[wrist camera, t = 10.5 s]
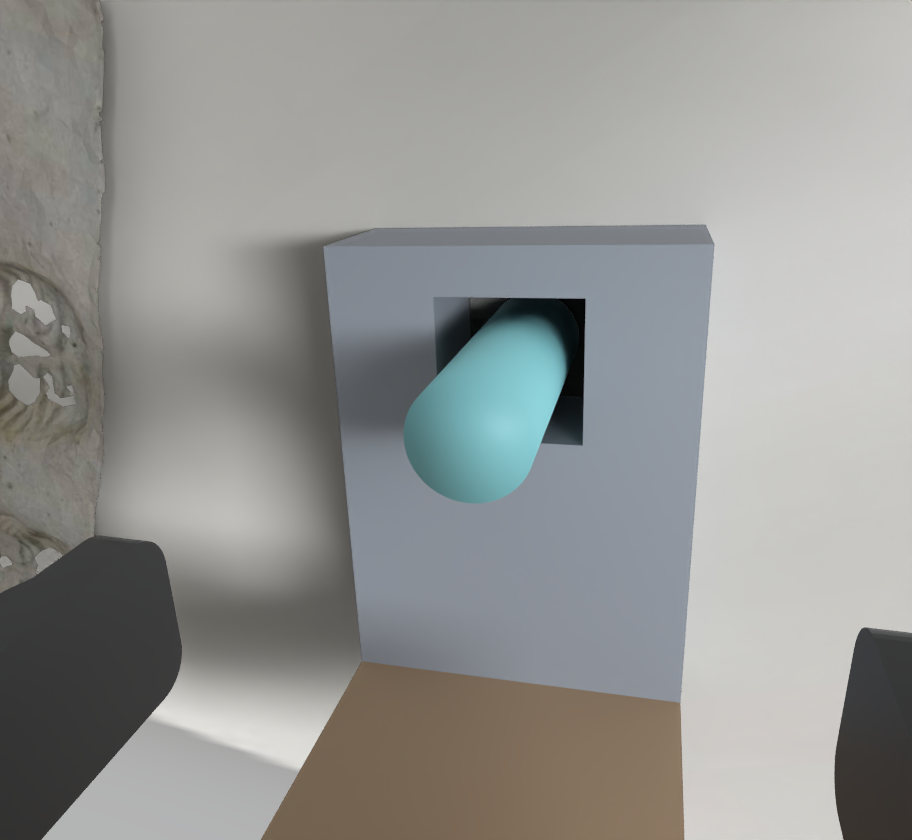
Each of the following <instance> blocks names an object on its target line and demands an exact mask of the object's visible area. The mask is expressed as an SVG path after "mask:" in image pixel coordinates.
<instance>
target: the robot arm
mask: <svg viewBox="0 0 912 840" xmlns="http://www.w3.org/2000/svg"><path fill="white" fill-rule="evenodd" d="M181 656H182V646H181V639H180V634H179V629H178V624H177V618H176V613H175V608H174V603H173V598H172V592H171V587H170V582H169V577H168V571H167V566H166V561H165V557H164V555H163V552H162V550H161V549H160V548H159V547H158V546H157V545H156V544H155V543H153V542H148V541H140V540H132V539H123V538H115V537H106V536H93V537H90V538H88V539H86V540H85V541H83V542H82V543H80V544H79V545H78V546H76V547H75V548H74V549H72V550H71V551H69V552H68V553H67V554H65V555H64V556H62V557H61V558H60V559H58V560H57V561H56V562H54V563H53V564H51V565H50V566H49V567H47V568H46V569H44V570H43V571H42V572H40V573H39V574H38V575H36V576H35V577H33V578H31V579H29V580H27V581H25V582H22V583H20V584H18V585H16V586H14V587H11V588H9V589H7V590H5V591H3V592H2V593H1V594H0V840H41V839H42V838H43V837H44V836H45V835H46V833H47V832H48V831H49V830H50V829H51V828H52V827H53V825H54V824H55V823H56V822H57V821H58V820H59V818H60V817H61V816H62V815H63V814H64V813H65V812H66V811H67V809H68V808H69V807H70V806H71V805H72V804H73V803H74V801H75V800H76V799H77V798H78V797H79V796H80V795H81V794H82V792H83V791H84V790H85V789H86V788H87V787H88V785H89V784H90V783H91V782H92V781H93V780H94V779H95V778H96V776H97V775H98V774H99V773H100V772H101V771H102V770H103V768H104V767H105V766H106V765H107V764H108V763H109V762H110V760H111V759H112V758H113V757H114V756H115V754H117V752H118V751H119V750H120V749H121V748H122V747H123V745H124V744H125V743H126V742H127V741H128V740H129V739H130V738H131V736H132V735H133V734H134V733H135V732H136V731H137V730H138V728H139V727H140V726H141V725H142V724H143V723H144V722H145V720H146V719H147V718H148V717H149V716H150V715H151V714H152V712H153V711H154V710H155V709H156V708H157V707H158V706H159V704H160V703H161V702H162V701H163V700H164V699H165V697H166V696H167V695H168V694H169V692H170V690H171V689H172V687H173V685H174V683H175V681H176V678H177V675H178V672H179V669H180V664H181ZM835 796H836V805H837V812H838V817H839V821H840V826H841V830H842V835H843V839H844V840H912V633H907V632H899V631H890V630H882V629H873V628H863V629H861V631H860V632H859V634H858V636H857V640H856V643H855V647H854V653H853V658H852V664H851V669H850V675H849V680H848V686H847V691H846V697H845V702H844V708H843V713H842V719H841V724H840V730H839V735H838V741H837V747H836V755H835Z"/></svg>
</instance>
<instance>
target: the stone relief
mask: <svg viewBox="0 0 912 840" xmlns="http://www.w3.org/2000/svg"><path fill="white" fill-rule="evenodd" d="M101 21H103V14H102V12H101V8H100V0H0V557H1V556H7V557H8V558H9V559H10V560H11V562H12V563H13V564H12V565H11V566H7V567H5V568H2V566H1V565H0V594H1V593H2V592H3V591H5V590H7V589H9V588H11V587H14V586H16V585H18V584H20V583H22V582H25V581H27V580H29V579H31V578H33V577H35V576H36V575H37V574H36V569H37V566H38V565H37V563H36V561H35V558H34V557H35V556H36V555H37V554H38V553H39V552H41V551H42V550H45V549H47V548H49V547H51V548H53V549H55V550H57V551H58V552H60V553H61V554H62V556H64V555H65V554H67V553H68V552H69V551H71V550H72V549H74V548H75V547H76V546H78V545H79V544H80V543H82V542H83V541H85V540H86V539H88V538H90V537H93V536H94V532H93V530H95V528H94V526H96V524H95V517H94V514H95V510H94V509H95V505H97V502H96V499H97V497H98V491H99V480H100V475H101V473H100V471H101V466H102V463H103V459H102V456H103V455H104V450H103V444H104V439H103V434H102V432H103V431H102V429H103V423H102V415H103V414H104V394H105V393H104V388H103V377H102V362H103V352H102V350H103V348H104V346H103V340H102V338H101V329H100V327H99V322H98V319H99V313H98V291H97V290H96V289H97V288H98V285H99V271H100V264H101V261H100V260H99V259H98V256H100V257H101V247H100V246H99V245H98V244H97V242H99V238H100V224H101V204H102V202H101V201H100V199H101V198H102V193H105V165H104V164H103V163H102V162H101V160H102V159H104V158H103V152H102V146H103V145H102V142H101V128H100V126H99V121H102V118H101V117H100V116H99V112H100V111H103V110H102V101H103V80H104V50H103V48H102V41H103V26H102V25H101ZM18 279H19V280H22V281H25V282H27V283H30V284H31V286H32V288H33V290H34V292H35V293H36V297H37V300H38V301H40V300H42V301H44V302H46V303H48V304H50V305H51V307H52V309H53V312H54V315H55V318H56V320H55V321H53V322H51V323H49V324H47V325H45V324H43V323H42V322H41V321H40V320H39V319H37V318H36V317H35V313H34V310H33V309H31V308H30V307H28V306H26V312H24V313H23V314H19V313H18V312H16V311H15V310H13V309H12V300H11V289H12V285H13V284H14V283H15V282H16V281H17V280H18ZM61 325H65V326H70V329H71V334H70V338H69V339H68V338H67V337H66V336H65V334H64V333H63V332H62V327H61ZM15 331H17V332H19V333H21V334H23V335H24V336H26V337H27V338H29V339H30V340H31V341H32V342H33V343H35V344H37V345H38V346H40V347H42V348H43V349H45V350H46V351H48V352H49V354H50V356H49V357H40V356H26V357H20V358H18V356H16V355H15V354H13V353H12V352H11V349H10V346H9V339H10V338H11V336H12V335H13V334H14V332H15ZM17 364H20V365H21V366H23V367H24V368H25V369H26V370H27V371H28V372H29V373H30V374H31V375H32V376H33V377H35V378H40V394H39V396H38V398H37V399H36V401H35V402H34V403H33V404H31V405H28V406H27V405H26V404H24V403H22V402H21V401H19V400H17V399H16V398H15V397H14V395H13V394H12V393H11V392H10V391H9V386H8V379H9V378H10V376H11V374H12V372H13V367H14V365H17ZM47 373H49V374H50V375H51V376H52V378H53V385H54V391H55V393H56V394H57V395H58V396H59V397H60V398H63V397H70V396H74V398H75V400H76V404H75V405H70V406H64V407H63V406H61V405H59V404H57V403H54V402H52V401H50V400H49V399H48V398H47V395H46V392H47V391H48V389H49V388H50V387H49V385H48V384H47V382H46V381H45V379H44V378H43V376H44V375H45V374H47ZM69 385H72V387H73V388H74V395H73V394H72V393H71V392H70V391H69V390H68V389H67V387H66V386H69Z"/></svg>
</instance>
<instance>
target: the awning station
mask: <svg viewBox="0 0 912 840" xmlns="http://www.w3.org/2000/svg"><path fill="white" fill-rule="evenodd" d="M323 250H324V261H325V272H326V282H327V293H328V304H329V314H330V325H331V336H332V346H333V357H334V368H335V378H336V389H337V400H338V411H339V421H340V432H341V443H342V453H343V464H344V475H345V485H346V496H347V507H348V517H349V528H350V539H351V550H352V560H353V571H354V582H355V592H356V603H357V614H358V624H359V635H360V646H361V656H362V662H361V664H360V666H359V667H358V669H357V671H356V673H355V674H354V676H353V678H352V680H351V682H350V683H349V685H348V687H347V689H346V690H345V692H344V694H343V696H342V697H341V699H340V701H339V703H338V704H337V706H336V708H335V710H334V712H333V713H332V715H331V717H330V719H329V720H328V722H327V724H326V726H325V727H324V729H323V731H322V733H321V734H320V736H319V738H318V740H317V742H316V743H315V745H314V747H313V749H312V750H311V752H310V754H309V756H308V757H307V759H306V761H305V763H304V764H303V766H302V768H301V770H300V772H299V773H298V775H297V777H296V779H295V780H294V782H293V784H292V786H291V788H290V789H289V791H288V793H287V794H286V796H285V798H284V800H283V802H282V803H281V805H280V807H279V809H278V810H277V812H276V814H275V816H274V817H273V819H272V821H271V823H270V824H269V826H268V828H267V830H266V832H265V834H264V835H263V837H262V839H261V840H684V814H683V779H682V745H681V711H680V699H681V686H682V673H683V659H684V646H685V632H686V619H687V605H688V592H689V578H690V565H691V551H692V538H693V524H694V511H695V497H696V484H697V470H698V457H699V443H700V430H701V416H702V403H703V389H704V376H705V362H706V349H707V335H708V322H709V308H710V295H711V281H712V268H713V254H714V243H713V240H712V238H711V236H710V234H709V231H708V229H707V227H706V225H643V226H552V227H461V228H375V229H372V230H369V231H366V232H363V233H361V234H358V235H355V236H352V237H349V238H346V239H343V240H340V241H337V242H334V243H332V244H329V245H326V246H323ZM470 297H482V298H573V299H586V307H585V358H584V397H571V396H559V398H558V400H557V403H556V405H555V408H554V410H553V413H552V415H551V418H550V421H549V423H548V426H547V428H546V431H545V433H544V436H543V438H542V441H541V444H540V446H539V449H538V451H537V454H536V456H535V459H534V461H533V464H532V467H531V469H530V471H529V473H528V475H527V477H526V478H525V479H524V481H523V482H522V483H521V484H520V485H519V486H518V487H517V488H516V489H515V490H514V491H513V492H511V493H510V494H508V495H506V496H505V497H503V498H500V499H498V500H495V501H491V502H487V503H479V504H476V503H463V502H459V501H455V500H452V499H449V498H447V497H445V496H443V495H441V494H439V493H437V492H436V491H434V490H433V489H431V488H430V487H429V486H428V485H427V484H425V483H424V482H423V481H422V479H421V478H420V477H419V476H418V475H417V473H416V472H415V471H414V469H413V467H412V465H411V464H410V462H409V459H408V457H407V454H406V450H405V446H404V439H403V434H404V423H405V420H406V416H407V413H408V411H409V409H410V407H411V405H412V404H413V402H414V401H415V400H416V398H417V397H418V396H419V395H420V394H421V393H422V392H423V391H424V390H425V388H426V387H427V386H428V385H429V384H430V383H431V382H432V381H433V380H434V379H435V378H436V376H437V375H438V374H439V373H440V372H441V371H442V370H443V369H444V368H445V367H446V366H447V365H448V363H449V362H450V361H451V360H452V359H453V358H454V357H455V356H456V355H457V354H458V353H459V351H460V350H461V349H462V348H463V347H464V346H465V345H466V344H467V343H468V342H469V341H470V340H471V324H470Z"/></svg>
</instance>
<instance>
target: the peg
mask: <svg viewBox="0 0 912 840" xmlns="http://www.w3.org/2000/svg"><path fill="white" fill-rule="evenodd" d="M578 344H579V330H578V326H577V323H576V320H575V318H574V316H573V314H572V313H571V311H570V310H569V309H568V307H567V306H566V305H565V304H563V303H562V302H561V301H560V300H558V299H557V298H511V299H509V300H508V301H506V302H505V303H504V304H503V305H502V306H501V307H500V308H499V309H498V310H497V311H496V312H495V313H494V314H493V316H492V317H491V318H490V319H489V320H488V321H487V322H486V323H485V324H484V325H483V326H482V328H481V329H480V330H479V331H478V332H477V333H476V334H475V335H474V336H473V337H472V338H471V340H470V341H469V342H468V343H467V344H466V345H465V346H464V347H463V348H462V349H461V350H460V351H459V353H458V354H457V355H456V356H455V357H454V358H453V359H452V360H451V361H450V362H449V363H448V365H447V366H446V367H445V368H444V369H443V370H442V371H441V372H440V373H439V374H438V375H437V376H436V378H435V379H434V380H433V381H432V382H431V383H430V384H429V385H428V386H427V387H426V388H425V390H424V391H423V392H422V393H421V394H420V395H419V396H418V397H417V398H416V400H415V401H414V402H413V404H412V405H411V407H410V409H409V411H408V413H407V416H406V420H405V423H404V434H403V439H404V446H405V450H406V454H407V457H408V459H409V462H410V464H411V465H412V467H413V469H414V471H415V472H416V473H417V475H418V476H419V477H420V478H421V479H422V481H423V482H424V483H425V484H427V485H428V486H429V487H430V488H431V489H433V490H434V491H436V492H437V493H439V494H441V495H443V496H445V497H447V498H449V499H452V500H455V501H459V502H463V503H476V504H479V503H487V502H491V501H495V500H498V499H500V498H503V497H505V496H506V495H508V494H510V493H511V492H513V491H514V490H515V489H516V488H517V487H518V486H519V485H520V484H521V483H522V482H523V481H524V479H525V478H526V477H527V475H528V473H529V471H530V469H531V467H532V464H533V461H534V459H535V456H536V454H537V451H538V449H539V446H540V444H541V441H542V438H543V436H544V433H545V431H546V428H547V426H548V423H549V421H550V418H551V415H552V413H553V410H554V408H555V405H556V403H557V400H558V398H559V395H560V392H561V390H562V387H563V385H564V382H565V380H566V377H567V375H568V372H569V369H570V367H571V364H572V362H573V359H574V357H575V354H576V351H577V348H578Z"/></svg>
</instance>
